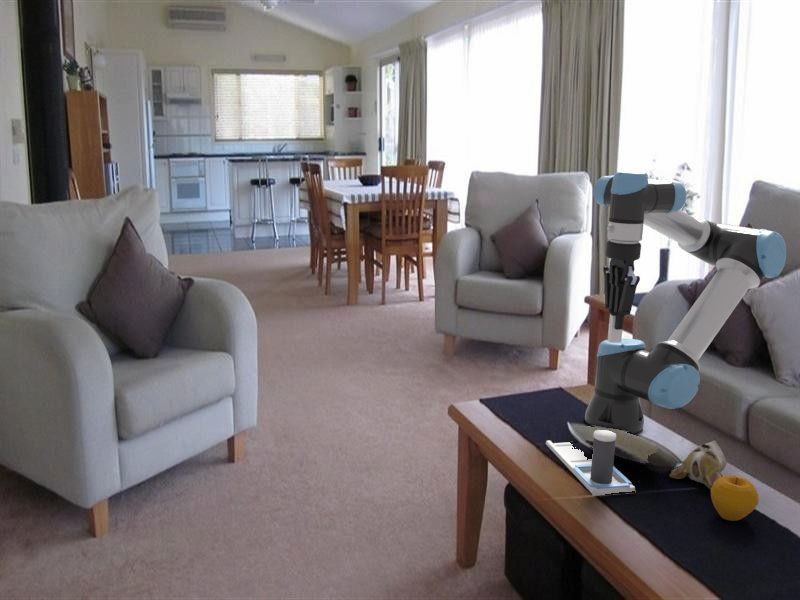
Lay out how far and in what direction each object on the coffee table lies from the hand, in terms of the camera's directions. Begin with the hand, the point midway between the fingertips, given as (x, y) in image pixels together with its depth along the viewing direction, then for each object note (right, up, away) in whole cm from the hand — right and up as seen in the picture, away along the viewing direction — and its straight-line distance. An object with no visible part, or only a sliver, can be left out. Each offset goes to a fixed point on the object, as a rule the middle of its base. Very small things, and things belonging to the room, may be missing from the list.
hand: (614, 341), depth 172 cm
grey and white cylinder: (-5, -30, -8) cm, 32 cm away
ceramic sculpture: (+18, -31, -5) cm, 36 cm away
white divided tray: (-6, -29, -1) cm, 30 cm away
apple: (+17, -35, -22) cm, 45 cm away
